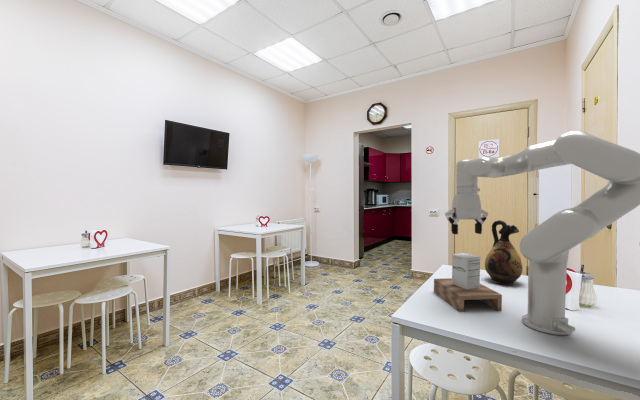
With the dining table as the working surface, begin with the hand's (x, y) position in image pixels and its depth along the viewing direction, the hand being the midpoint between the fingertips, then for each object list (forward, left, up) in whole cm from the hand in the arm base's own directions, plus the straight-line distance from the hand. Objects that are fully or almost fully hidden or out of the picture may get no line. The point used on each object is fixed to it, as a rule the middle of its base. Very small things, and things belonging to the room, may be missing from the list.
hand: (466, 233), depth 110 cm
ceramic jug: (+22, -32, -28) cm, 48 cm away
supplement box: (0, 0, -21) cm, 21 cm away
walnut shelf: (0, 0, -27) cm, 27 cm away
